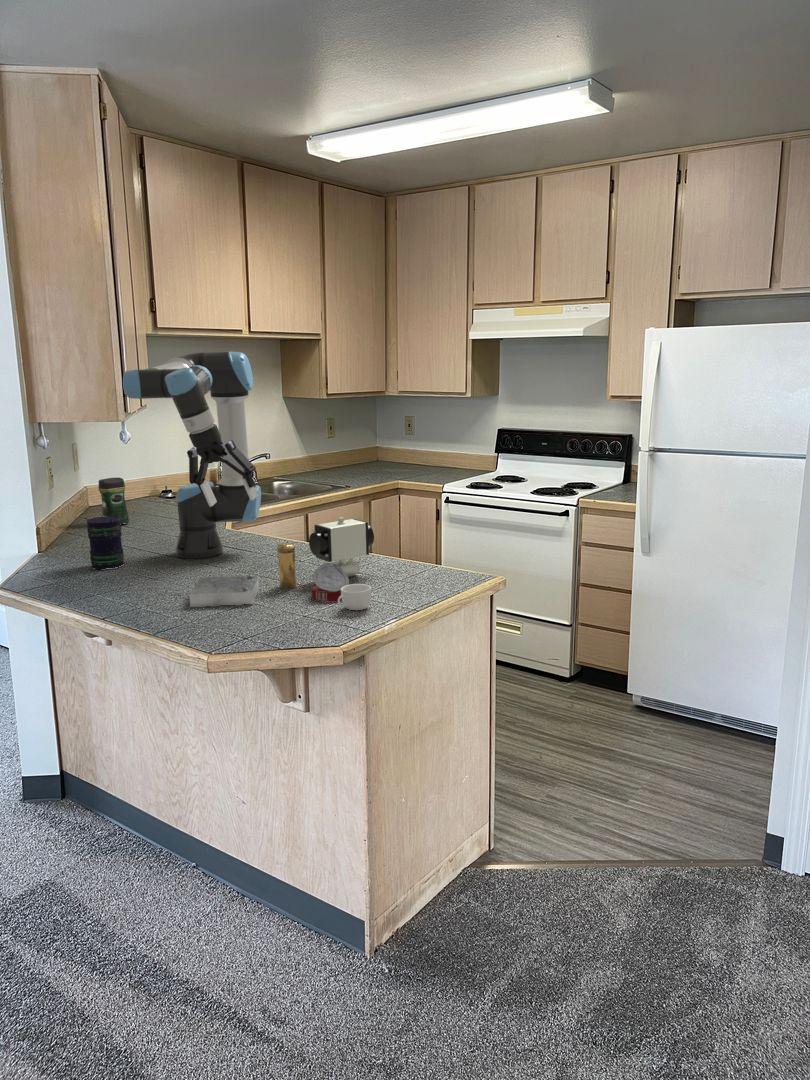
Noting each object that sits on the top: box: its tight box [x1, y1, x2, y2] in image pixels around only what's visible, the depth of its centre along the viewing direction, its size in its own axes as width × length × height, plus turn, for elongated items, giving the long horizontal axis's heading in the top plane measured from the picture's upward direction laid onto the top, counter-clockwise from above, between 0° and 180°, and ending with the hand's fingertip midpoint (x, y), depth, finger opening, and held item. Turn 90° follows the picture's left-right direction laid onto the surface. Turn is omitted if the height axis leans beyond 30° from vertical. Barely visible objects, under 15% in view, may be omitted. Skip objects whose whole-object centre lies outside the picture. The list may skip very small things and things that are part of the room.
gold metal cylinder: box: [277, 542, 297, 590], centre depth 222 cm, size 5×5×12 cm
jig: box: [188, 574, 260, 608], centre depth 214 cm, size 16×16×4 cm
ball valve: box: [308, 517, 375, 578], centre depth 230 cm, size 18×8×18 cm, turn 127°
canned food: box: [311, 562, 350, 602], centre depth 213 cm, size 11×10×10 cm
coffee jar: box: [98, 477, 130, 524], centre depth 312 cm, size 10×8×19 cm
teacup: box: [337, 583, 372, 611], centre depth 202 cm, size 10×8×5 cm
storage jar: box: [86, 516, 125, 569], centre depth 248 cm, size 10×10×15 cm
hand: (233, 501), depth 214 cm, fingers open, 13 cm apart
